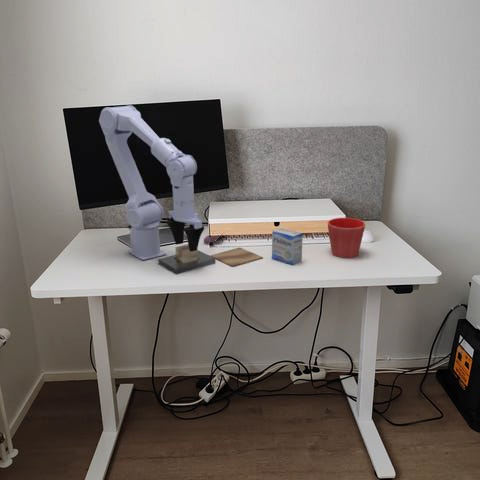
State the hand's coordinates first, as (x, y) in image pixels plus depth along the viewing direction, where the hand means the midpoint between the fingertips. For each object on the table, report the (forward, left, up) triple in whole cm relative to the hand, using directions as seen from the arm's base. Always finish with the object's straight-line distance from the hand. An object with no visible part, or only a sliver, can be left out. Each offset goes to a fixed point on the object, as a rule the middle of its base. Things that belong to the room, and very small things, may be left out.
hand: (186, 247), depth 144 cm
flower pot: (+23, +41, -5) cm, 47 cm away
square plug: (0, 0, -5) cm, 5 cm away
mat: (+5, +14, -5) cm, 16 cm away
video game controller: (-12, +19, -5) cm, 23 cm away
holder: (0, 0, -5) cm, 5 cm away
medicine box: (+16, +24, -5) cm, 29 cm away
